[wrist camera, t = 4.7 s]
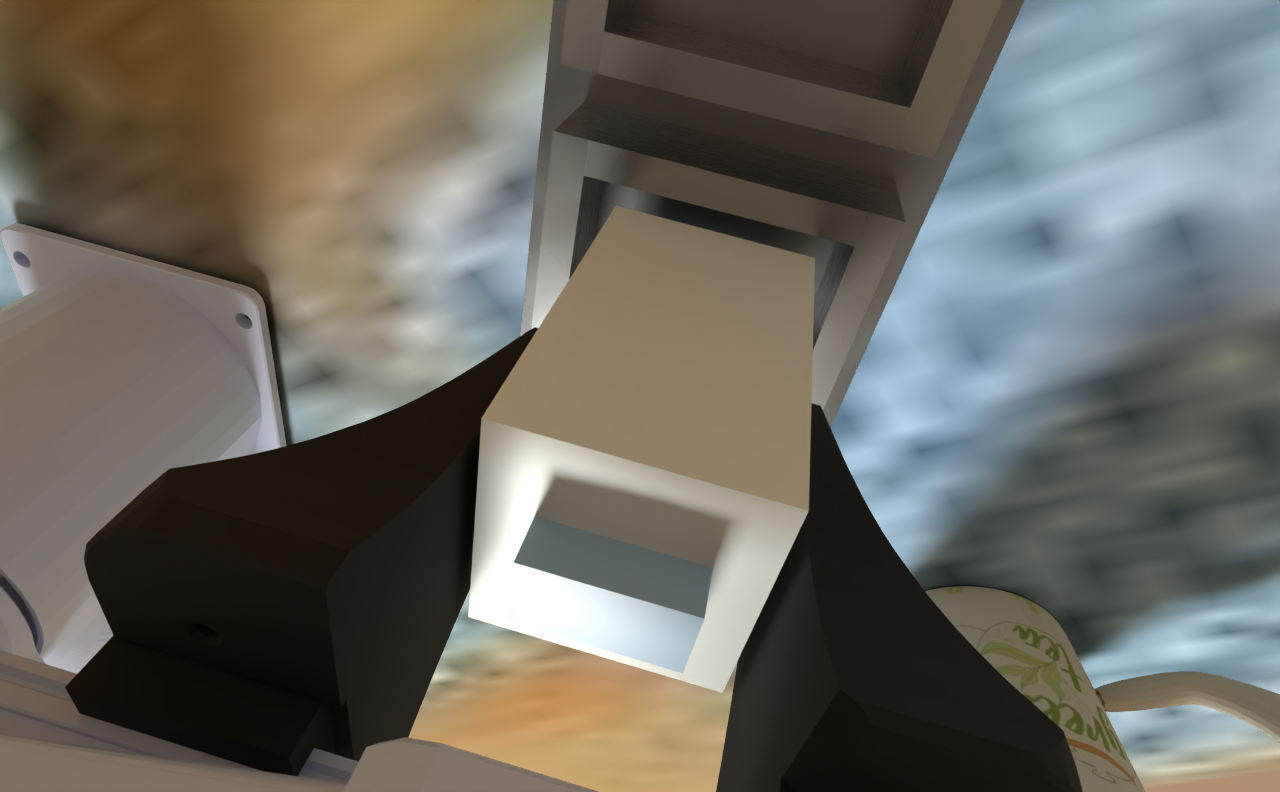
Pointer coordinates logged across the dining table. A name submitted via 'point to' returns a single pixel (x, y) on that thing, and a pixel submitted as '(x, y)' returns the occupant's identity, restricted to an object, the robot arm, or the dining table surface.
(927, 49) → the panel
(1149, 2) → the dining table surface
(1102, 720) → the mug
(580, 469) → the plug
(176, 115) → the dining table surface
